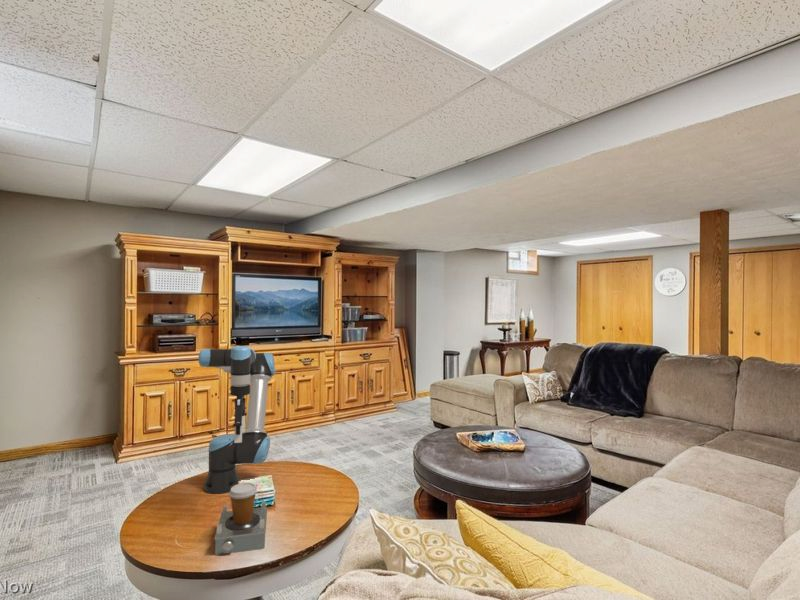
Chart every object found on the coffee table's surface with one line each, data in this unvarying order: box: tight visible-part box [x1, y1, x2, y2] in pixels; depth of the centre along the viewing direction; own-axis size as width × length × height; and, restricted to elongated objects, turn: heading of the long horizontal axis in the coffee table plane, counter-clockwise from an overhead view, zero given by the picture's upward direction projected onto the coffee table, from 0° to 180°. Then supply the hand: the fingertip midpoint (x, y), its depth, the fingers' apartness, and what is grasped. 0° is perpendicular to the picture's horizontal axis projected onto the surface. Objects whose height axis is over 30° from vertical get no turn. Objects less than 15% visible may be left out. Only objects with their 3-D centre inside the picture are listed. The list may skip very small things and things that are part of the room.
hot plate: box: [214, 501, 268, 556], centre depth 156 cm, size 20×17×9 cm
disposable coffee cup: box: [228, 482, 258, 525], centre depth 156 cm, size 10×10×12 cm
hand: (239, 437), depth 173 cm, fingers open, 13 cm apart
